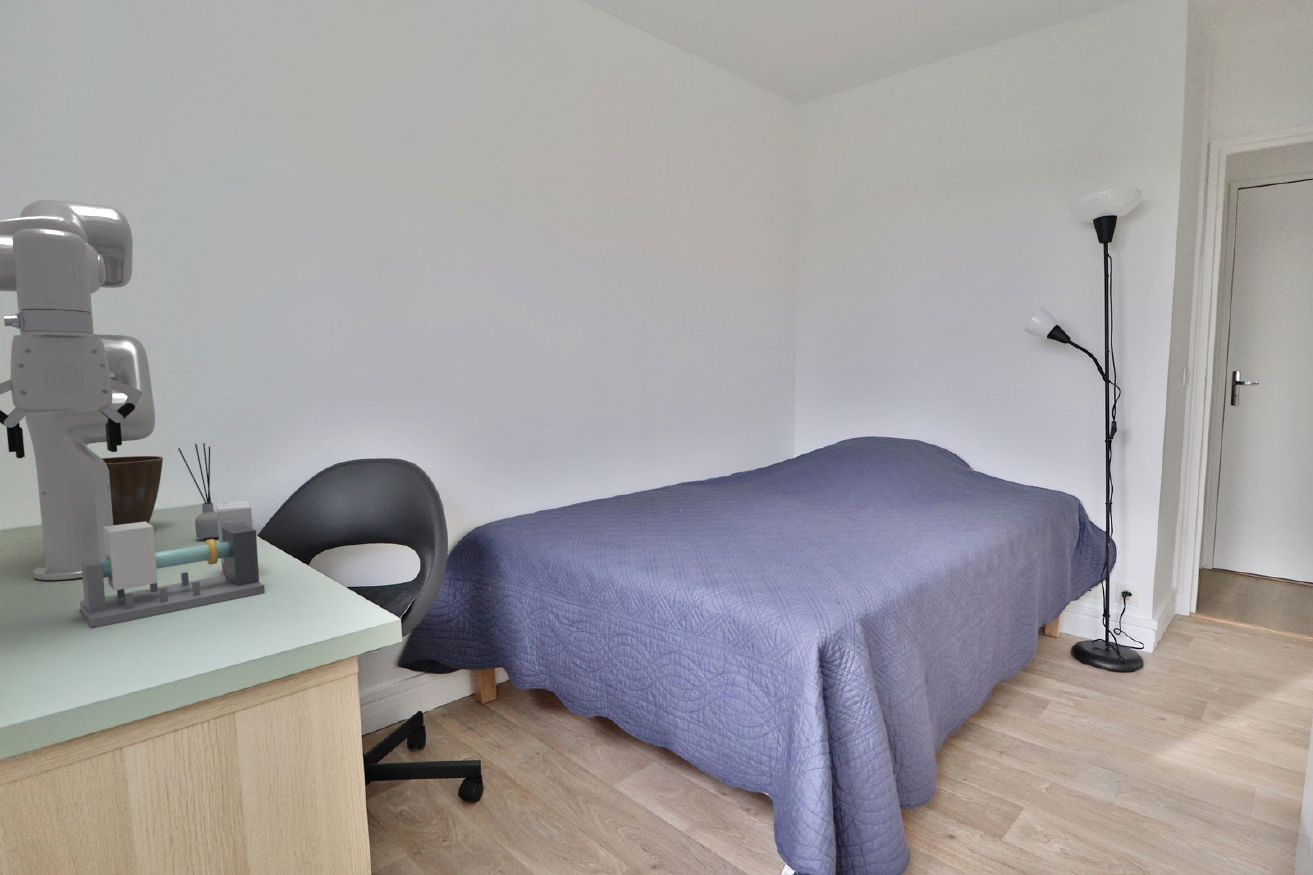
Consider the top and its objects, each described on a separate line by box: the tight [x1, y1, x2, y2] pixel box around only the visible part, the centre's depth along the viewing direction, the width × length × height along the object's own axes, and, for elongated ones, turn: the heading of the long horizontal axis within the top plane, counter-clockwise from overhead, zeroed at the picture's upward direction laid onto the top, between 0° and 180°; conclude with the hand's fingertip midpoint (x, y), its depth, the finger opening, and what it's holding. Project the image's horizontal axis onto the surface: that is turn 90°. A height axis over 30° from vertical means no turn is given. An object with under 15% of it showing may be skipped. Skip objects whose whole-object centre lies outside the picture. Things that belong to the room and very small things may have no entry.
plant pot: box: [100, 455, 164, 526], centre depth 154 cm, size 15×15×16 cm
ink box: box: [216, 500, 254, 575], centre depth 120 cm, size 9×5×12 cm, turn 33°
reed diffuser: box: [177, 442, 219, 539], centre depth 146 cm, size 10×7×20 cm
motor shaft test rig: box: [79, 525, 265, 628], centre depth 105 cm, size 21×11×9 cm, turn 135°
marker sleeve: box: [103, 522, 158, 591], centre depth 102 cm, size 5×5×8 cm
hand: (68, 454), depth 96 cm, fingers open, 9 cm apart
